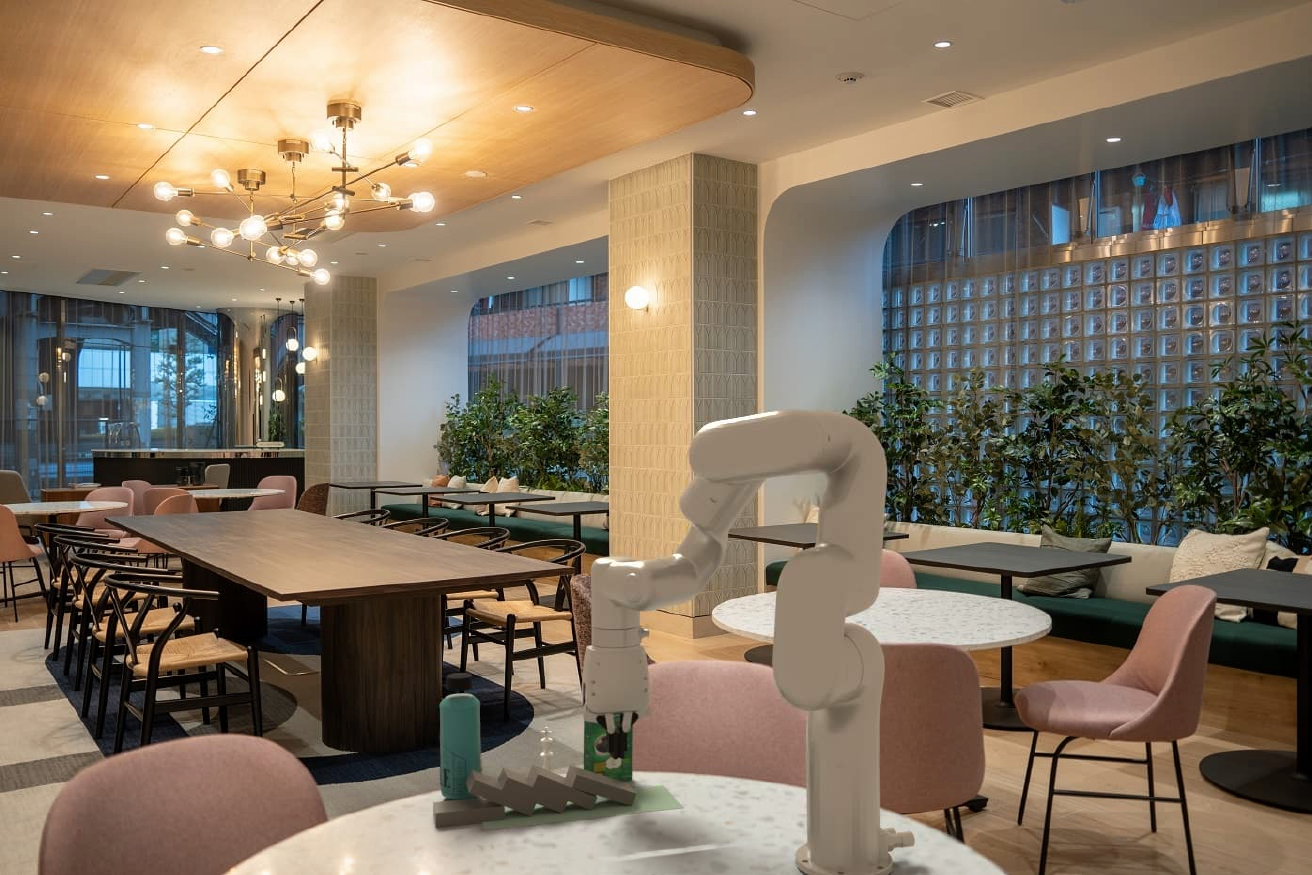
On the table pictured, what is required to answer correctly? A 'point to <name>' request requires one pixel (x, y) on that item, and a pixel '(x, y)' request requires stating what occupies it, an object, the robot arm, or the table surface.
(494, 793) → the domino
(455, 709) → the beverage bottle
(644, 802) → the mat
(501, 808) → the domino
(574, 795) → the domino
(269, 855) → the table surface
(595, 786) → the domino
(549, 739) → the chess piece
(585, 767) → the coffee box
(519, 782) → the domino
